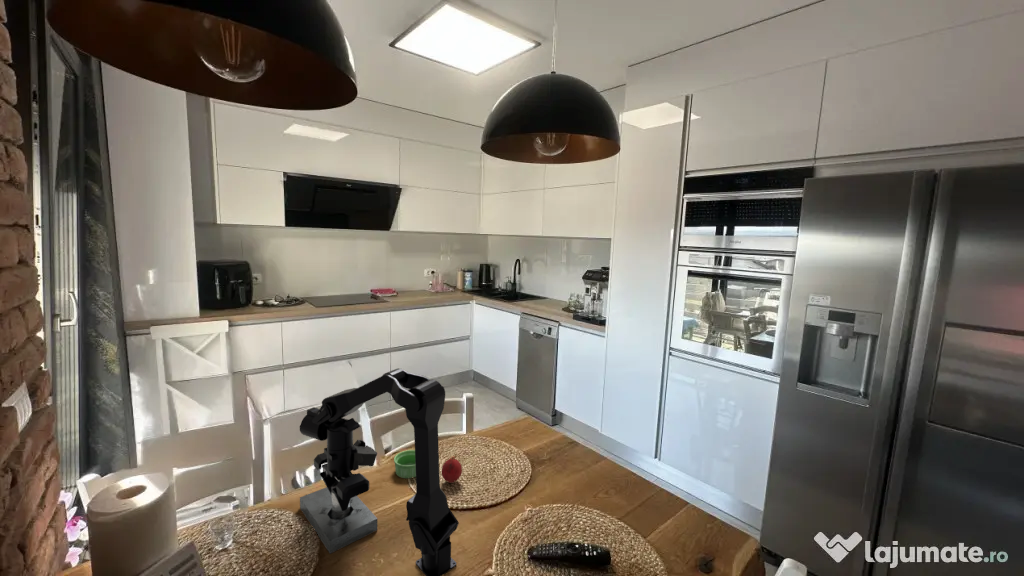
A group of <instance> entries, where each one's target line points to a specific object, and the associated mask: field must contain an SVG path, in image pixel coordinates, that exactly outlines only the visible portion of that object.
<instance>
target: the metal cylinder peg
mask: <svg viewBox="0 0 1024 576" xmlns="http://www.w3.org/2000/svg"><path fill="white" fill-rule="evenodd" d="M338 483H339V481H336V482H334V483H333V484H332V489H333V488H336V485H337V484H338ZM349 515H350V502H349V505H348V508H347V510H345V511H342V510H341V508H340V505H339V503H338V501H337V499H336V497H335V495H334V492H333V490H332V519H334V520H341V519H343V518H346V517H348V516H349Z"/></svg>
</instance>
